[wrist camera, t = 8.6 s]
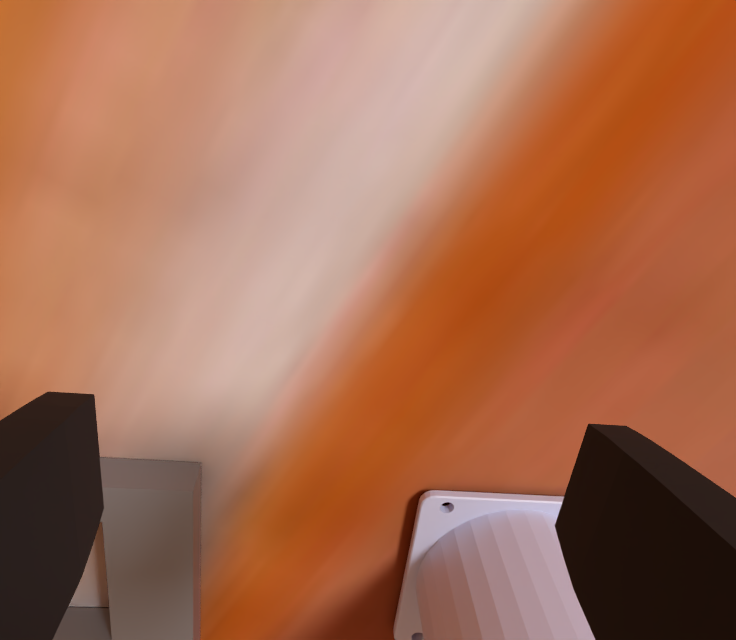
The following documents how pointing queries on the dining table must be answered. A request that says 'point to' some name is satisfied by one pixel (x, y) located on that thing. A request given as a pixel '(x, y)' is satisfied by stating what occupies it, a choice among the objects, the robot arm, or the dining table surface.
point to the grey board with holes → (146, 554)
